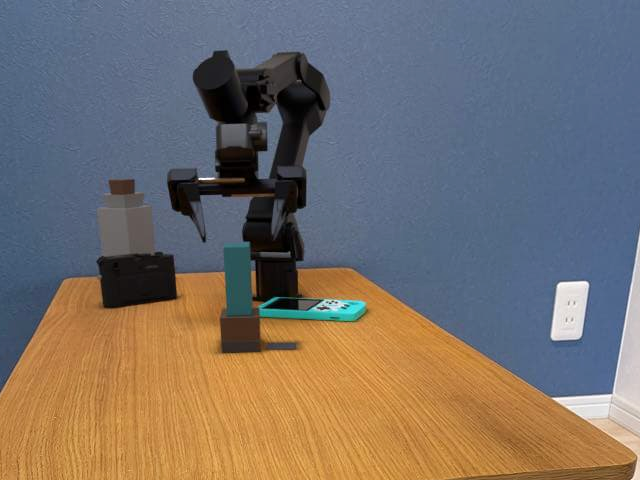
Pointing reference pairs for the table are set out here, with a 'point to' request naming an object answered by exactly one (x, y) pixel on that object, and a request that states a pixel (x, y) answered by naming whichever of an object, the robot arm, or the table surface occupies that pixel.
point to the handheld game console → (313, 309)
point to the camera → (137, 279)
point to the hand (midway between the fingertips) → (238, 239)
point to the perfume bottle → (125, 221)
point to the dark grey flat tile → (281, 345)
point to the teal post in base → (239, 302)
